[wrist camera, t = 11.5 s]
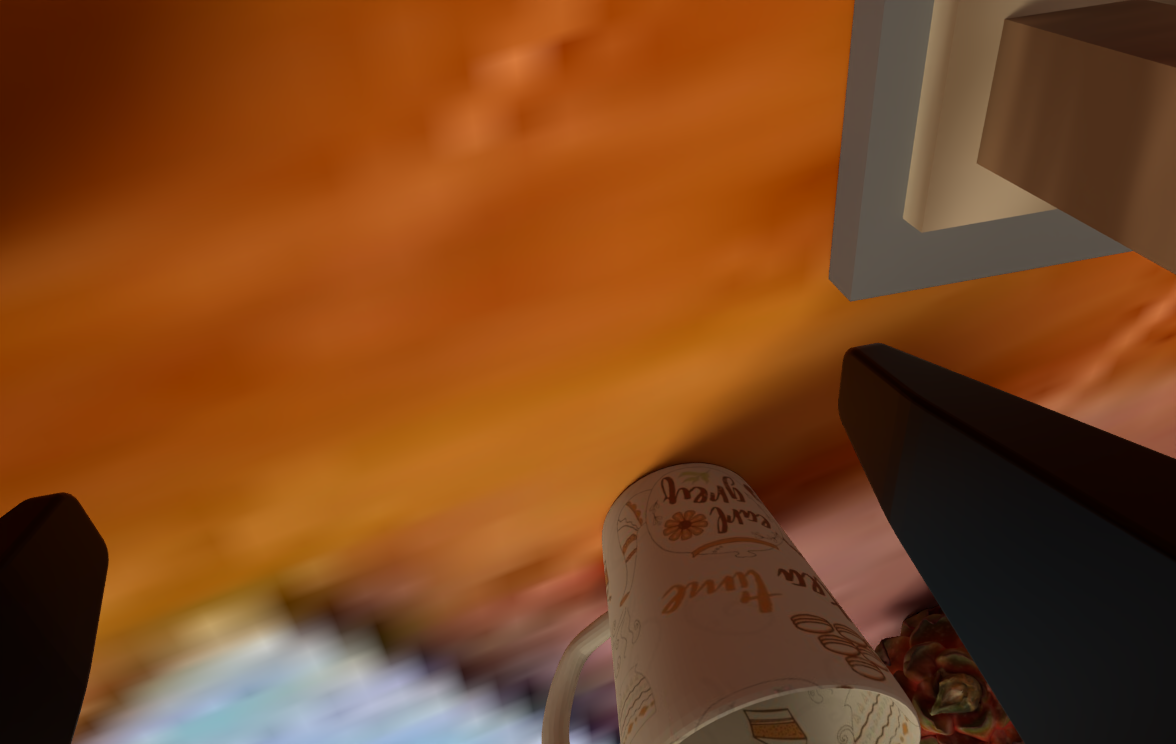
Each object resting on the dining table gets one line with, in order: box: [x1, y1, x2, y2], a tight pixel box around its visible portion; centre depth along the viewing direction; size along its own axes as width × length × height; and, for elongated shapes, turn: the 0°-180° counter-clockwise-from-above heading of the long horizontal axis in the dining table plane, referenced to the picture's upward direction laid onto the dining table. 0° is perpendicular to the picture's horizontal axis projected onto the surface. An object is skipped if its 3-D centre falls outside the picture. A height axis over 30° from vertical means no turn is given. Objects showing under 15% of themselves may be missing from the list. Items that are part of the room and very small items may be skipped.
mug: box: [542, 463, 921, 744], centre depth 26 cm, size 8×13×10 cm, turn 137°
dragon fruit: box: [875, 606, 1024, 744], centre depth 34 cm, size 8×8×12 cm
